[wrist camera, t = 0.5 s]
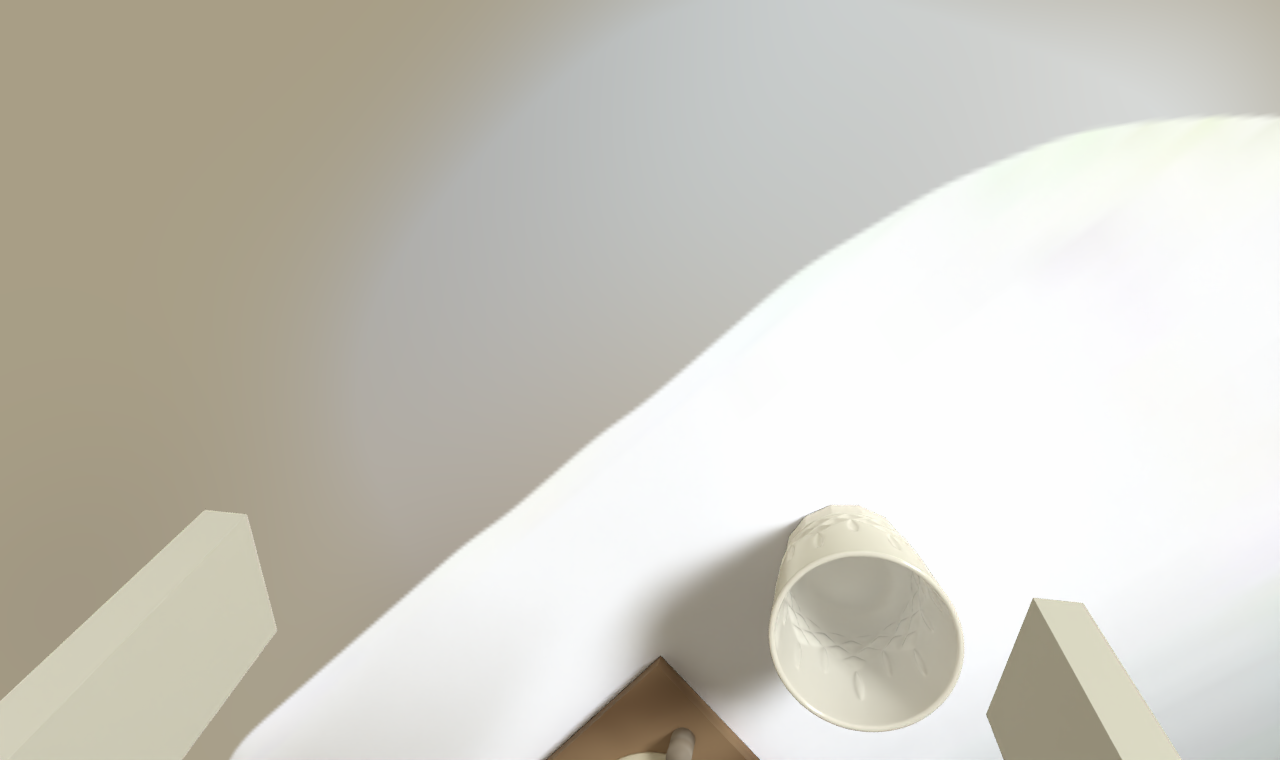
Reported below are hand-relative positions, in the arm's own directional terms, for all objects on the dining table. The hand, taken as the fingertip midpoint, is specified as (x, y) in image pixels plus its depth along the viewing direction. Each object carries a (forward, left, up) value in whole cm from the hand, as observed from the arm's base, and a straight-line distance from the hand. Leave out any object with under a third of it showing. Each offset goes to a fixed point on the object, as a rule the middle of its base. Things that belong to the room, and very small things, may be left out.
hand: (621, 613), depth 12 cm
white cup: (-10, +2, -29) cm, 30 cm away
